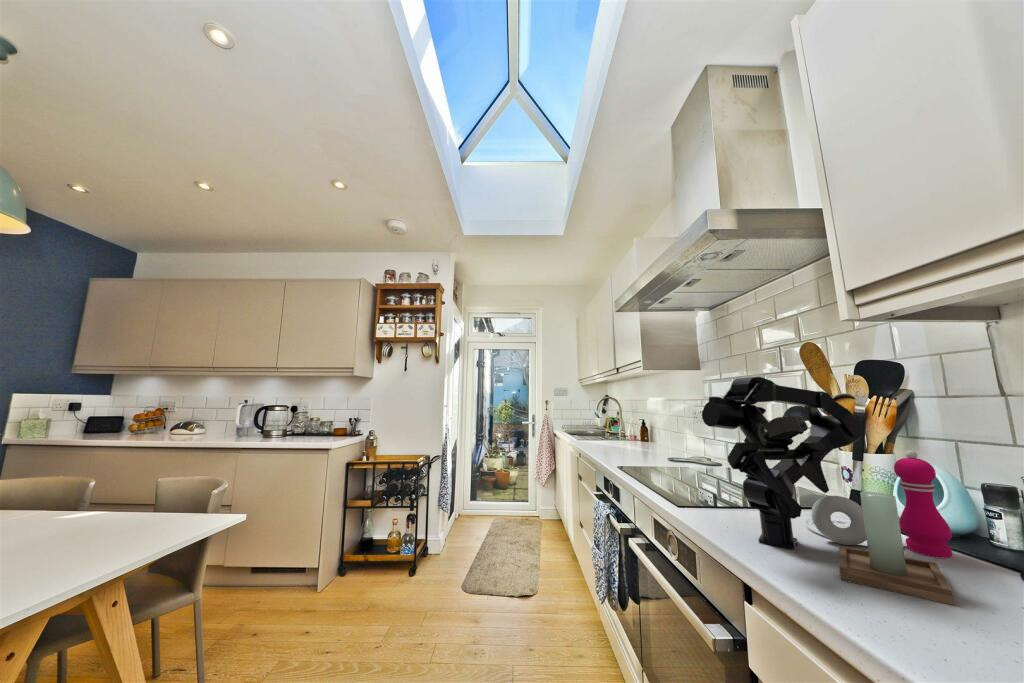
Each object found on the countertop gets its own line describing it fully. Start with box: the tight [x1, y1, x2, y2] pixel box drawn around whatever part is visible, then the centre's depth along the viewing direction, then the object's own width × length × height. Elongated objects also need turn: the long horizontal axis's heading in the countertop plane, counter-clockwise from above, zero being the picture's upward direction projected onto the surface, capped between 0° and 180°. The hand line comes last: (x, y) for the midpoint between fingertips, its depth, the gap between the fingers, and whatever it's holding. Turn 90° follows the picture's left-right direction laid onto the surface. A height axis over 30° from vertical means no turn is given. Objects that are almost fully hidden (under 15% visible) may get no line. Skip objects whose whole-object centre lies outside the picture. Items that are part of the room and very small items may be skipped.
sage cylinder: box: [859, 491, 907, 576], centre depth 67 cm, size 5×5×12 cm
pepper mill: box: [893, 449, 953, 559], centre depth 78 cm, size 7×7×20 cm
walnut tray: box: [838, 545, 955, 606], centre depth 66 cm, size 13×13×2 cm
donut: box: [810, 495, 867, 546], centre depth 81 cm, size 10×4×10 cm, turn 51°
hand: (804, 492), depth 71 cm, fingers open, 9 cm apart
